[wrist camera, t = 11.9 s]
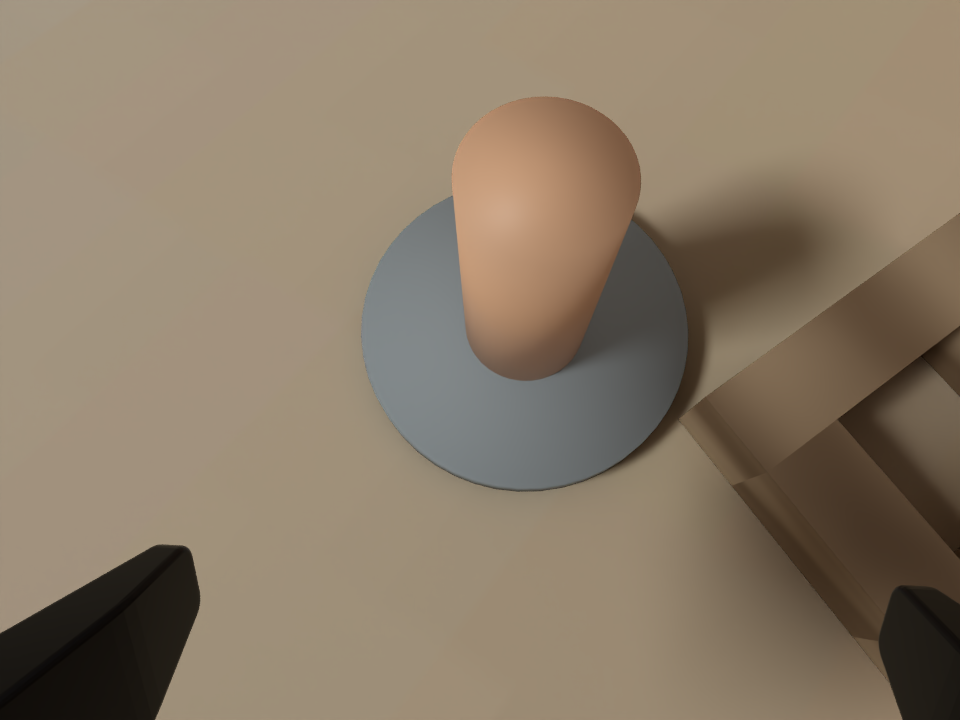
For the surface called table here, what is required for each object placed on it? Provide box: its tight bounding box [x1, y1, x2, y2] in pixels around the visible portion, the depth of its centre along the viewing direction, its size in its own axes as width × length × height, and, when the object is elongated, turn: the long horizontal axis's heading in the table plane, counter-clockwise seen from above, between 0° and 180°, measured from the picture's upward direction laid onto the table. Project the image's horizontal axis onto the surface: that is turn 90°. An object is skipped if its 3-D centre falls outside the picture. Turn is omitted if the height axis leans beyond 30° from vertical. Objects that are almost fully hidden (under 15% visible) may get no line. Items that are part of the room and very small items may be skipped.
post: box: [452, 97, 641, 381], centre depth 19 cm, size 4×4×9 cm
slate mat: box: [361, 196, 688, 492], centre depth 24 cm, size 11×11×1 cm
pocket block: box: [679, 213, 960, 681], centre depth 21 cm, size 11×11×3 cm
